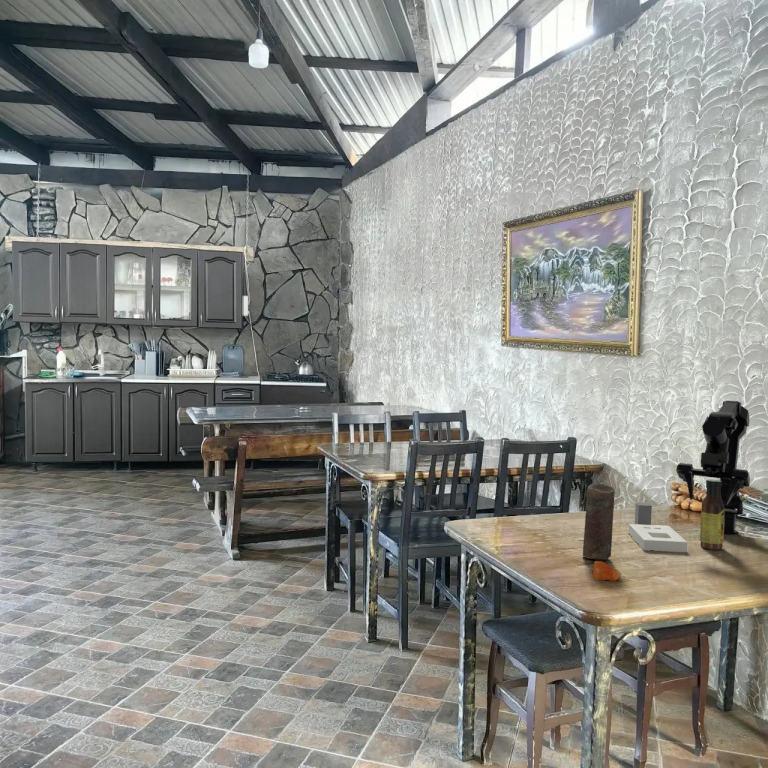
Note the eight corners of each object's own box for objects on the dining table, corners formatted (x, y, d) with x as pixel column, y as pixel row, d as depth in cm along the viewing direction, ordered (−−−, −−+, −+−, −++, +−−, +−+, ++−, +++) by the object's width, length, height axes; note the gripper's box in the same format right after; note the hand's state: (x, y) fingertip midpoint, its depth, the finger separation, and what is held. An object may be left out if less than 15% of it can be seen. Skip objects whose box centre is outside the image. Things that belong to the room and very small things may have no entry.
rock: (634, 590, 169) (635, 573, 169) (582, 586, 171) (583, 569, 171) (626, 574, 181) (627, 558, 181) (578, 570, 183) (578, 554, 183)
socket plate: (628, 533, 219) (628, 523, 219) (668, 535, 218) (668, 525, 218) (643, 550, 201) (643, 539, 201) (686, 552, 200) (687, 541, 200)
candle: (611, 556, 194) (615, 485, 193) (611, 564, 187) (614, 490, 186) (583, 553, 197) (586, 482, 195) (581, 560, 190) (584, 487, 189)
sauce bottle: (725, 551, 202) (729, 483, 201) (702, 549, 203) (705, 481, 202) (719, 545, 208) (723, 479, 207) (697, 543, 209) (700, 477, 208)
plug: (634, 526, 228) (635, 502, 227) (647, 527, 227) (648, 503, 227) (637, 529, 224) (638, 505, 223) (650, 530, 223) (651, 505, 223)
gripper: (677, 436, 204) (668, 485, 198) (749, 443, 193) (742, 495, 187) (683, 453, 212) (675, 501, 206) (753, 460, 201) (746, 511, 195)
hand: (708, 502), depth 198 cm, fingers open, 9 cm apart
